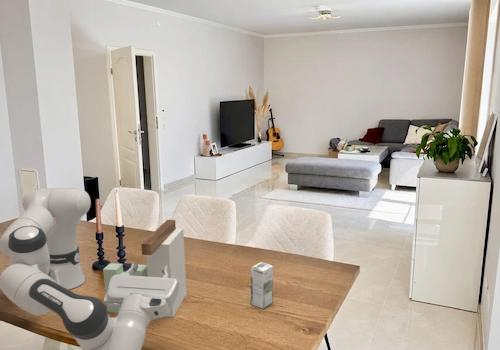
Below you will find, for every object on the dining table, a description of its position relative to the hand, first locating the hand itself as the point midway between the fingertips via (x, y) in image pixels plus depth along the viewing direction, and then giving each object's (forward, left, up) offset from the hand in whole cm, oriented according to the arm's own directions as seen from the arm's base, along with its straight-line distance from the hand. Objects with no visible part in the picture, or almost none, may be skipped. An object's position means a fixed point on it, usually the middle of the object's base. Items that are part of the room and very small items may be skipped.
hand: (150, 265), depth 127 cm
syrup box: (+31, +23, -24) cm, 46 cm away
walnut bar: (-2, +14, +2) cm, 15 cm away
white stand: (-2, +19, -24) cm, 31 cm away
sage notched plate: (-15, +14, -24) cm, 31 cm away
